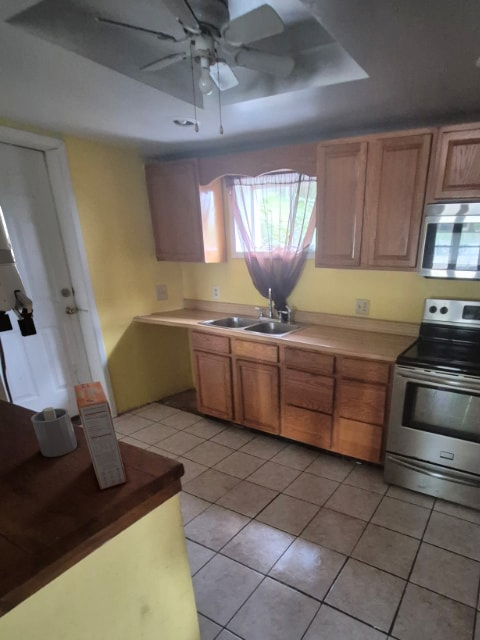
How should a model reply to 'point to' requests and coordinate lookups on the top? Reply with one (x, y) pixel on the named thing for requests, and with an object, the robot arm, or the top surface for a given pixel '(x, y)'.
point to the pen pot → (54, 433)
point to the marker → (49, 414)
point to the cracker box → (100, 434)
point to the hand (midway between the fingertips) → (17, 333)
